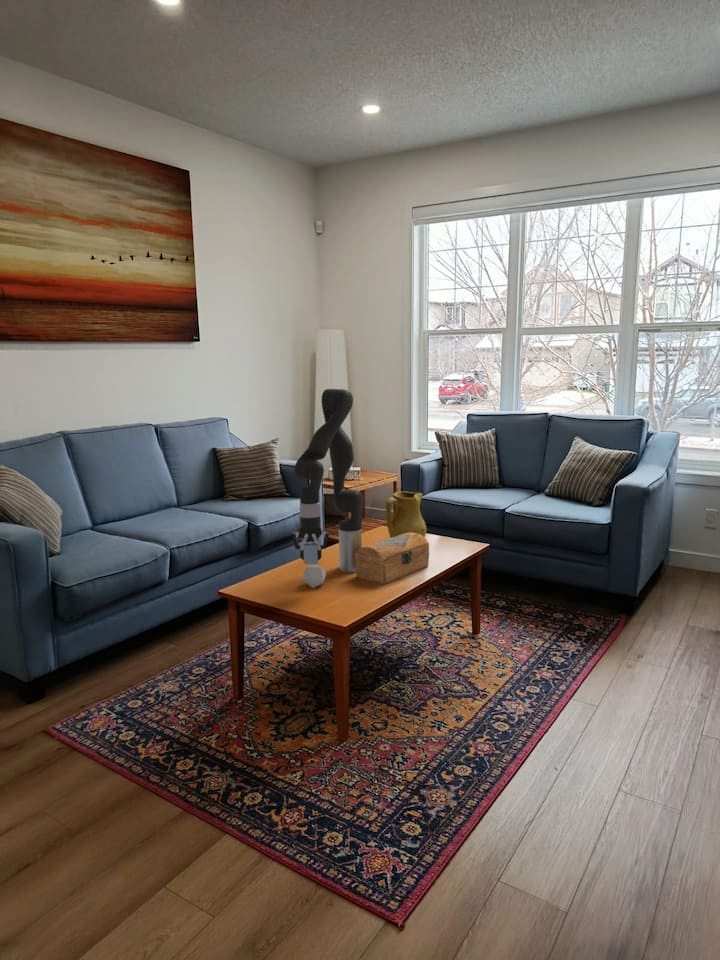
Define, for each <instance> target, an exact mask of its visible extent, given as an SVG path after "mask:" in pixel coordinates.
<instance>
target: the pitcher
mask: <svg viewBox="0 0 720 960" xmlns="http://www.w3.org/2000/svg"><path fill="white" fill-rule="evenodd" d="M423 496H424V494H423V493H421V492H412V491H406V490H404V491H395V492H394V493H393V497H389V498H387V500H386V502H385V517H386V518H385V519H386V523H387V524H386V527H387V530H388V531H387V532H388V533H389V534H388V535H389V538H392V537H396V536H399V535H402V534H405V533H417V534H420V535H422V536H423V537H425V536H426V533H427V529H428V528H427V525H426V522H425V520H424V518H423V517H422V513H421V502H422V497H423ZM393 504H395V509H394V514H393V516H392V509H393ZM425 538H426V537H425Z"/></svg>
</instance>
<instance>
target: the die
mask: <svg viewBox="0 0 720 960" xmlns="http://www.w3.org/2000/svg"><path fill="white" fill-rule="evenodd" d="M326 574H327V570H325V569H324V568H323V567H321V566H320V565H319V564H309V565H307V566H306V567H305V569H304V571H303V576H302V578H301V580H302V581H303V582H304V583H305V584H307V586H309V587H311V588H312V589H315V588H317V587H319V586H321V585H323V583H324V582H325V578H326Z"/></svg>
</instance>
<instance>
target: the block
mask: <svg viewBox="0 0 720 960" xmlns="http://www.w3.org/2000/svg"><path fill="white" fill-rule="evenodd" d="M303 550H304V560H303V565H312V564H317V565H319V560H318V548H317V545H316V544H315V542H306V543H305V545H303Z"/></svg>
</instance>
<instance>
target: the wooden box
mask: <svg viewBox="0 0 720 960" xmlns="http://www.w3.org/2000/svg"><path fill="white" fill-rule="evenodd" d="M429 559H430V543H429V540H427V538H426V537H423V536H422V535H420V534H417V533H405V534H402V535H399V536H396V537H392V538H390V537H389V538H386V539H382V540H380V541H377V542H374V543H371V544H368V545H366V546H362V548H360V549H358V551H357V552H356V553H355V560H356V572H355V575H356V578H358V579H359V578H360V579H362V580H366V581H369V582H374V583H377V584H380V585H387V584H389V583H393V582H395V581H398V580H399V578H400V579H401V578H404V577H407V576H409V575H411V573H412V574H413V572H414V573H416V572H419V571H421V570H424V569H426V568H429V564H430V563H429V561H430V560H429ZM418 570H419V571H418ZM406 575H407V576H406Z"/></svg>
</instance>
